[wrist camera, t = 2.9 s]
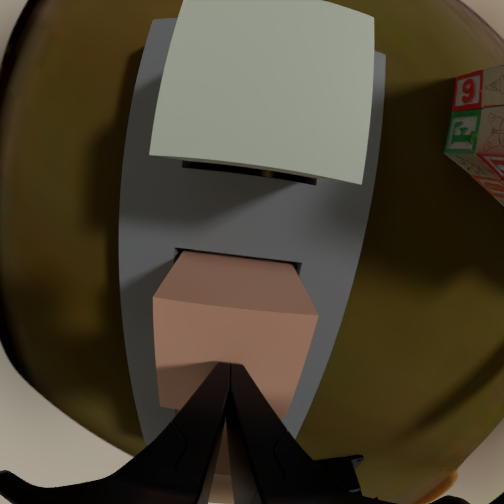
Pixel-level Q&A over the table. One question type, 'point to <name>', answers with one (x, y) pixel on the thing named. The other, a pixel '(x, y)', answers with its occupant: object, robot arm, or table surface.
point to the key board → (231, 233)
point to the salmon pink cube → (231, 325)
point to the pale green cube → (268, 87)
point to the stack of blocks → (479, 128)
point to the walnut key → (222, 475)
